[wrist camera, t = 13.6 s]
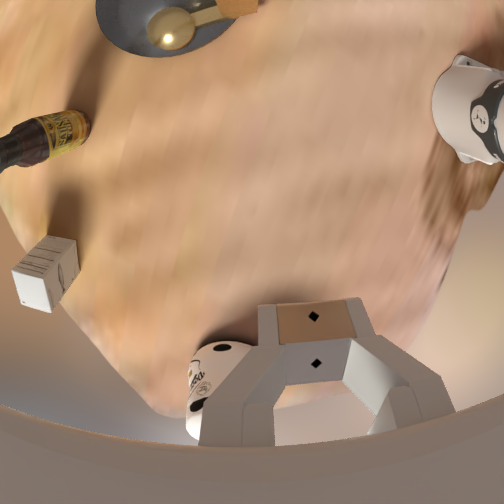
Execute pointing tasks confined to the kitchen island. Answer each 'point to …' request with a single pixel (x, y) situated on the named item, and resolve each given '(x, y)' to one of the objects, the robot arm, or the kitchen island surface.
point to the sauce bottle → (43, 138)
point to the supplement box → (46, 272)
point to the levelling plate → (138, 16)
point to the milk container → (209, 376)
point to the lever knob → (192, 22)
